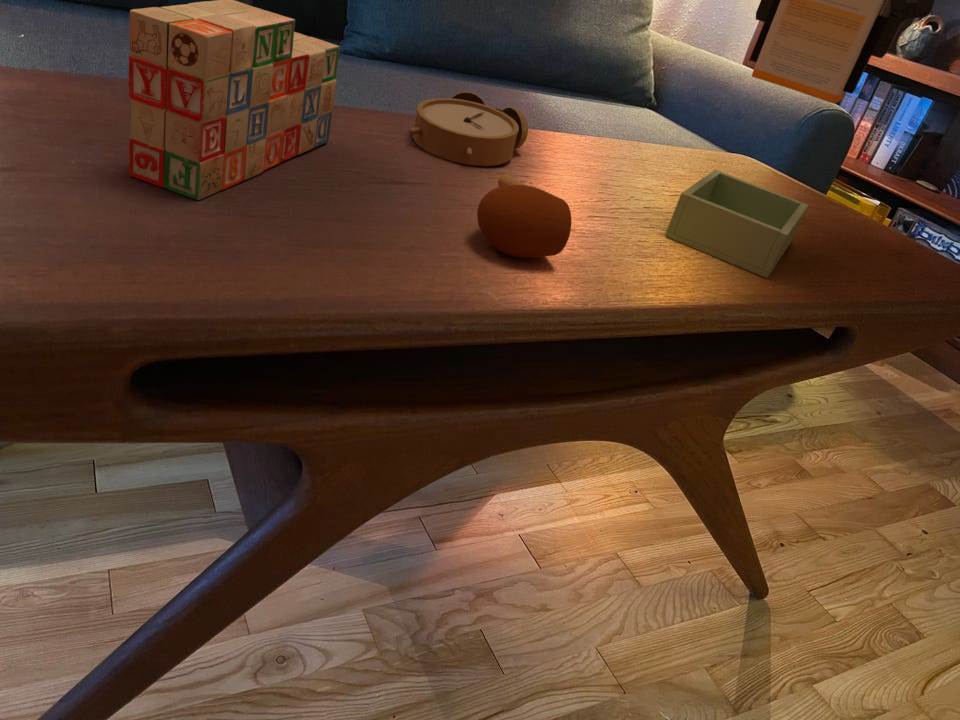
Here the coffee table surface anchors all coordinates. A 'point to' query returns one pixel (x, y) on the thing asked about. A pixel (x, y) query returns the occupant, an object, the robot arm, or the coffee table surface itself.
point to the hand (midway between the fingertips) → (801, 75)
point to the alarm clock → (469, 130)
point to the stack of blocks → (223, 94)
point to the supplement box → (816, 45)
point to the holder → (736, 221)
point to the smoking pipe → (524, 219)
